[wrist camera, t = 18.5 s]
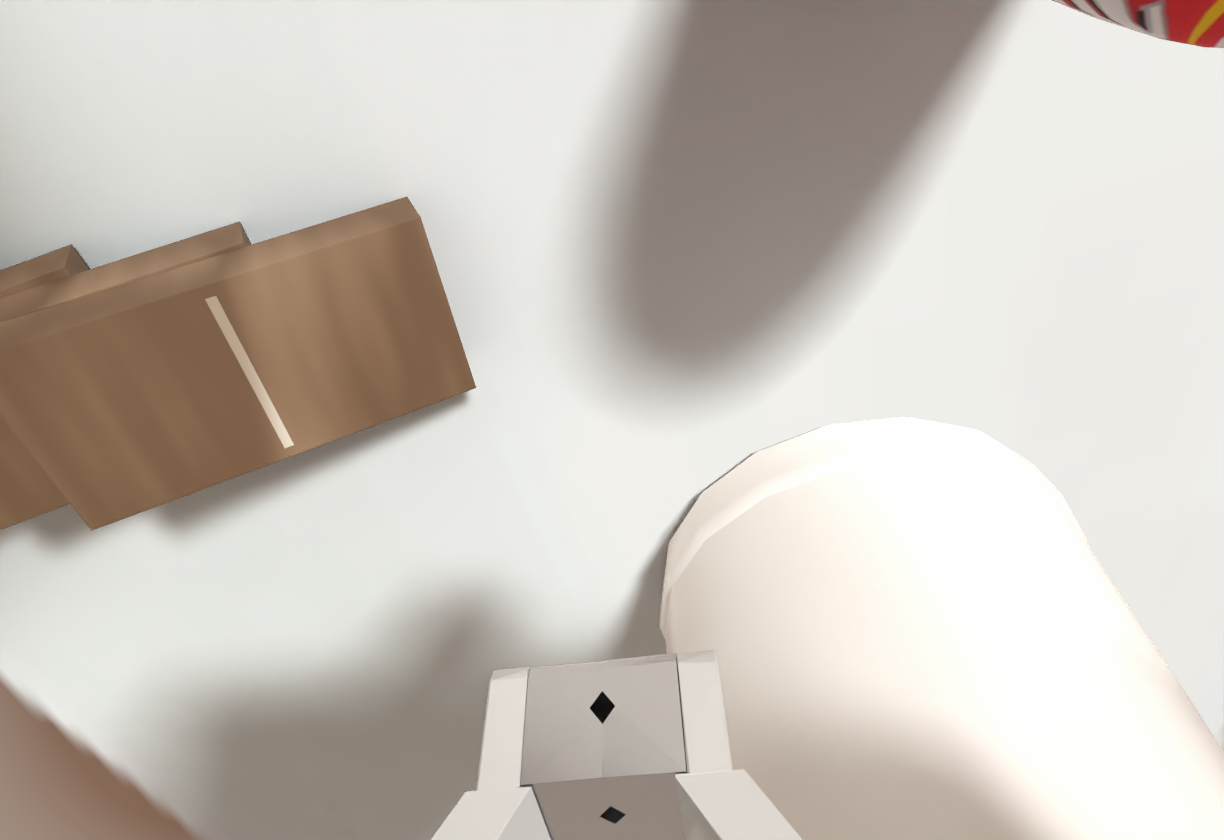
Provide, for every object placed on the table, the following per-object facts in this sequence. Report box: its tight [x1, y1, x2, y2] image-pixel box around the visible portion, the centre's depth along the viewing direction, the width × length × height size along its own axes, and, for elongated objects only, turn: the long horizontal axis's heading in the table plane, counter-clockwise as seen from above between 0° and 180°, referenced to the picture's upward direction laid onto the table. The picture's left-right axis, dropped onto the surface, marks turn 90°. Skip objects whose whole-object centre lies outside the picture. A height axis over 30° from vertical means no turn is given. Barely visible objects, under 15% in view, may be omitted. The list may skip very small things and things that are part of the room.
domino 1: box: [0, 222, 251, 530], centre depth 20 cm, size 2×5×10 cm
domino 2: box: [0, 197, 476, 530], centre depth 20 cm, size 2×5×10 cm
